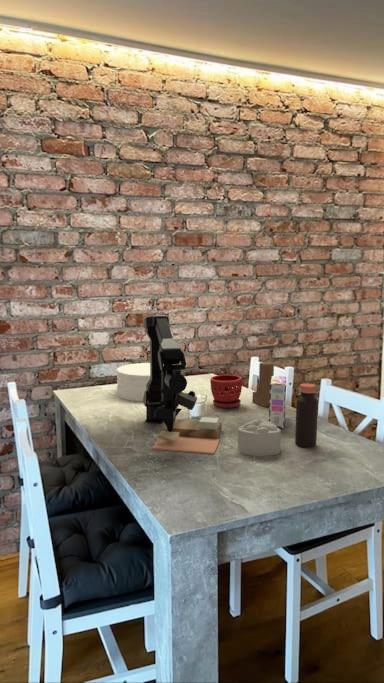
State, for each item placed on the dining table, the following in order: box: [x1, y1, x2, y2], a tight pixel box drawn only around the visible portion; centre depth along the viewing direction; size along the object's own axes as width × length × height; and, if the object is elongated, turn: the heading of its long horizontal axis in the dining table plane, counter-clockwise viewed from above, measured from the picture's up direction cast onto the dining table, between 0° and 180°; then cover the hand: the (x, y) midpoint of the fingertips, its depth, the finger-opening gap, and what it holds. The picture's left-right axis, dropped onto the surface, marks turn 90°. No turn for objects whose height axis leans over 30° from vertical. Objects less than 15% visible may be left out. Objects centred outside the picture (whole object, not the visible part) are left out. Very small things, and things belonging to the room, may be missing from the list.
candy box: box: [268, 375, 287, 429], centre depth 187 cm, size 14×6×16 cm, turn 168°
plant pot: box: [209, 374, 243, 409], centre depth 210 cm, size 13×13×12 cm
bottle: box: [294, 383, 319, 449], centre depth 163 cm, size 7×7×20 cm
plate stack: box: [116, 362, 150, 402], centre depth 229 cm, size 28×28×12 cm
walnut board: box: [164, 418, 223, 439], centre depth 175 cm, size 18×10×3 cm, turn 78°
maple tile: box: [156, 430, 179, 445], centre depth 165 cm, size 6×5×2 cm
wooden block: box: [251, 361, 275, 408], centre depth 211 cm, size 9×4×18 cm, turn 27°
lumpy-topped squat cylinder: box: [237, 419, 282, 457], centre depth 159 cm, size 10×13×9 cm
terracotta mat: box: [151, 436, 221, 455], centre depth 164 cm, size 20×12×1 cm, turn 78°
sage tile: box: [198, 416, 220, 430], centre depth 172 cm, size 6×5×2 cm
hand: (170, 431), depth 164 cm, fingers closed
